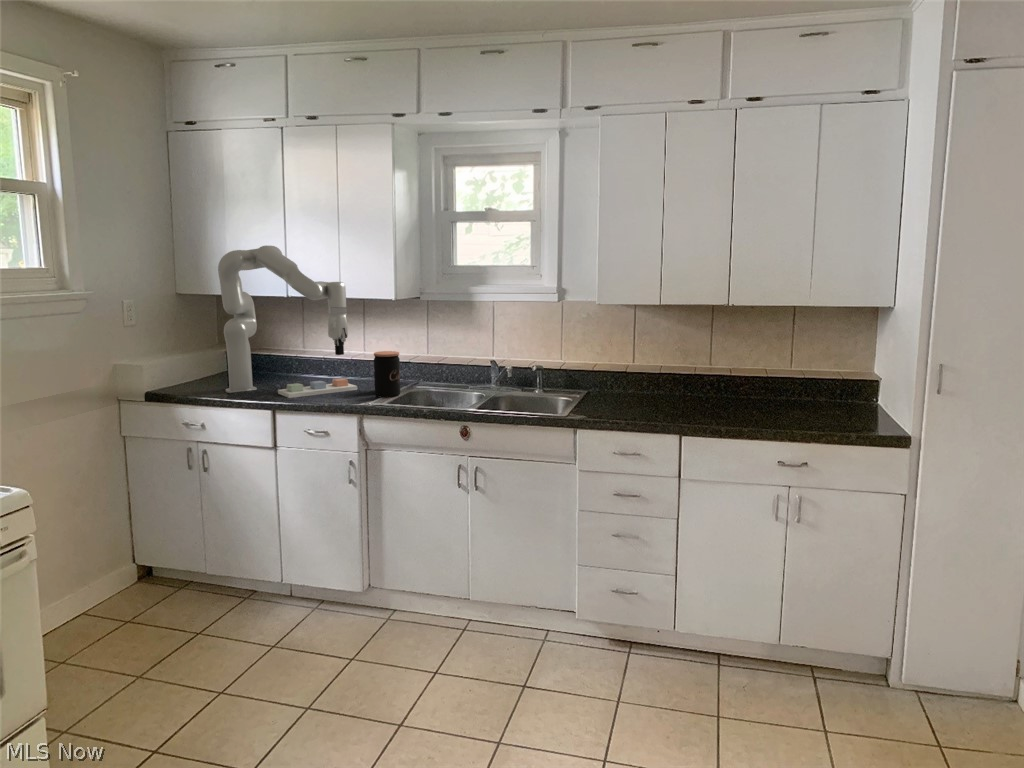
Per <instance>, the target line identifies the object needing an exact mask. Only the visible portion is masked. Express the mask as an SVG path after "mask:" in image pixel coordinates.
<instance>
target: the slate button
mask: <svg viewBox="0 0 1024 768" xmlns="http://www.w3.org/2000/svg"><path fill="white" fill-rule="evenodd" d="M326 384H327V382H326V381H323V380H315V381H309V386H310V388H311V389H314V390H316V389H324V388H326Z"/></svg>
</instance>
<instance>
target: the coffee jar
mask: <svg viewBox="0 0 1024 768" xmlns="http://www.w3.org/2000/svg"><path fill="white" fill-rule="evenodd" d="M399 355H400V352H399V351H396V350H394V351H392V350H382V351H381V350H380V351H375V352H373V356H374V358H373V375H374V376H373V377H374V379H373V380H374V381H373V382H374V393H375V396H376V397H378V396H381V397H380V398H394V397H398V396H400V394H401V365H400V363H401V362H400V357H399Z"/></svg>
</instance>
